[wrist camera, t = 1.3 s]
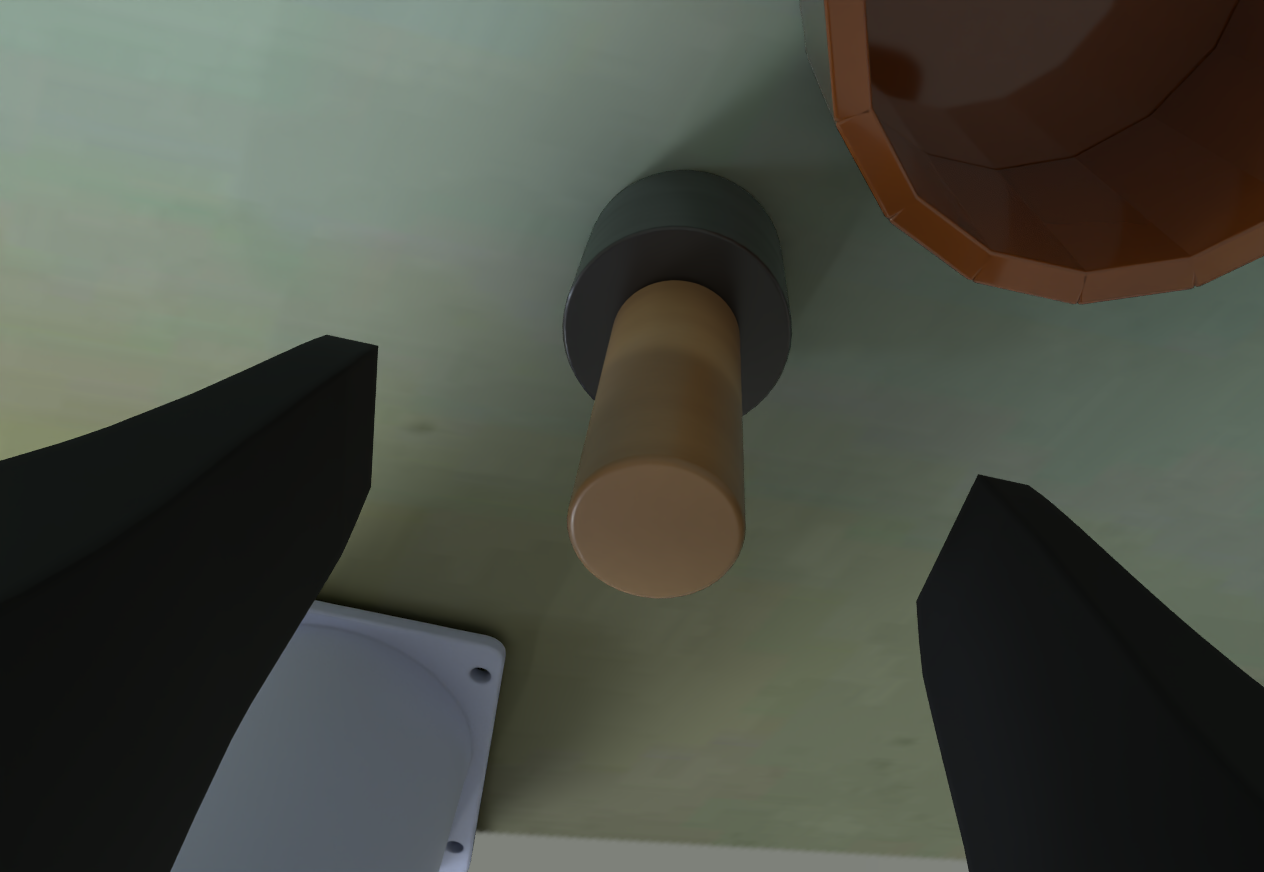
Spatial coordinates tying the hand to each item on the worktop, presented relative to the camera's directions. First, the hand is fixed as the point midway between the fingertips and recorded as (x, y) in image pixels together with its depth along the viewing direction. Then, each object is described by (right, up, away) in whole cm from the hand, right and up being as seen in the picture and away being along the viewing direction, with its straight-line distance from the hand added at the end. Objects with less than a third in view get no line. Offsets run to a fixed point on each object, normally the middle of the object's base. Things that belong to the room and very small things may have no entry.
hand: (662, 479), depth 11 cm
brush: (+1, +4, +6) cm, 7 cm away
